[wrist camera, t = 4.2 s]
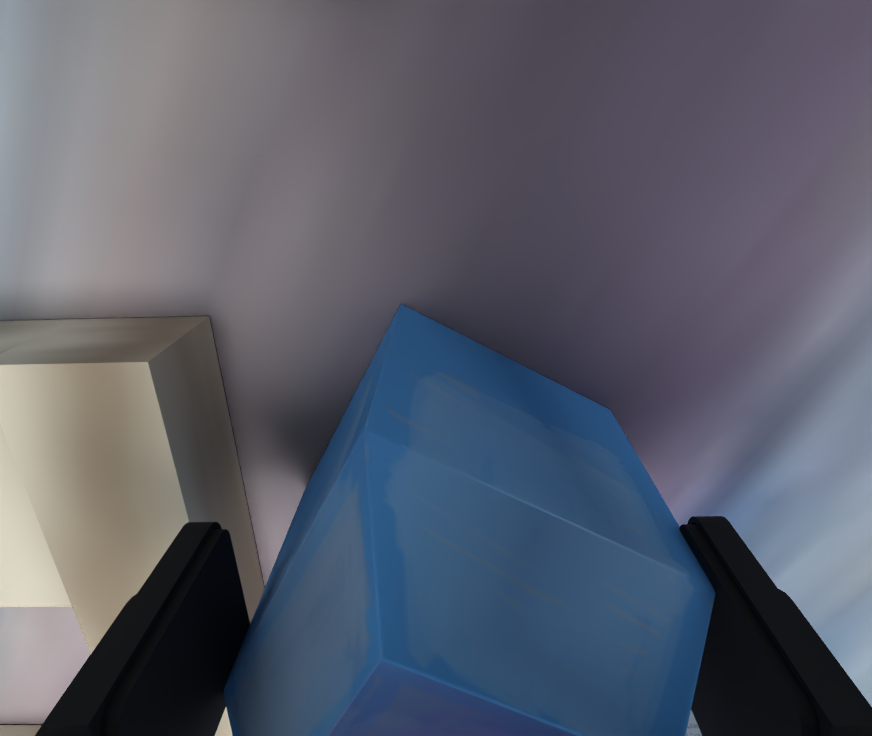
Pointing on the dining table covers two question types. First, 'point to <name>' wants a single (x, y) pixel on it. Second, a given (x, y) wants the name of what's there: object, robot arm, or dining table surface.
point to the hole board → (111, 463)
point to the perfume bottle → (474, 566)
